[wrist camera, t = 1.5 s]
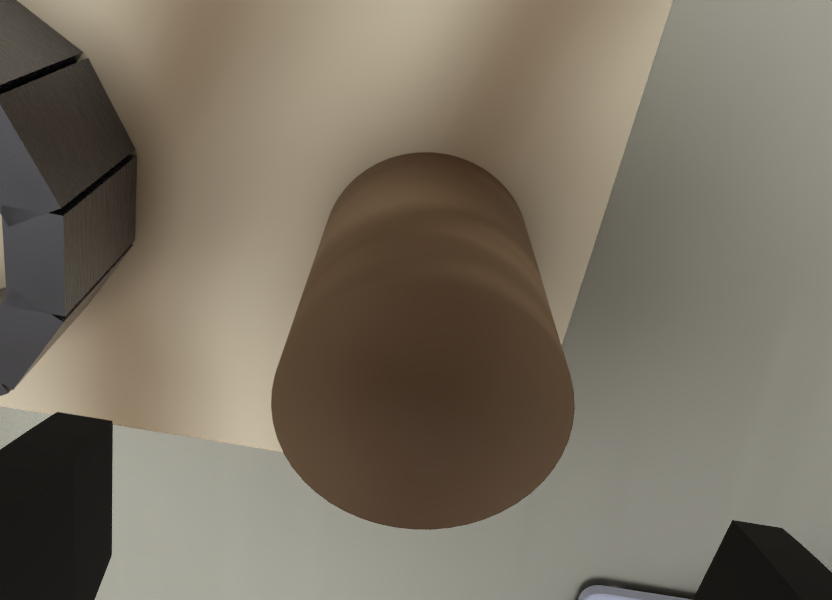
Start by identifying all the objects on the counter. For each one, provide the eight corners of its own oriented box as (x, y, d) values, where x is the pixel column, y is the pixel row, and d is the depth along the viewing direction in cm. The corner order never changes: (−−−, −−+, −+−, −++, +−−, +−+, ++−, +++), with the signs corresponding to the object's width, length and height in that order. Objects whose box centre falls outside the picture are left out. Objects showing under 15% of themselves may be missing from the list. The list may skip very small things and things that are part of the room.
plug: (551, 174, 16) (614, 310, 10) (501, 355, 18) (530, 548, 12) (339, 133, 15) (288, 251, 10) (311, 322, 17) (256, 505, 12)
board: (661, -14, 15) (675, -9, 14) (511, 465, 20) (515, 490, 19) (-303, -219, 14) (-355, -228, 13) (-191, 348, 19) (-221, 369, 18)
